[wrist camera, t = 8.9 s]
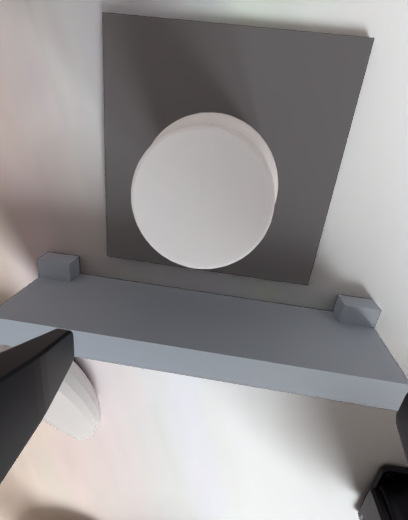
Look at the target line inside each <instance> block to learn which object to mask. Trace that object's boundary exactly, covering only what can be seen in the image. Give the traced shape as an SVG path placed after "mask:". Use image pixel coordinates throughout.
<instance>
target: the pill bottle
mask: <svg viewBox="0 0 408 520" xmlns="http://www.w3.org/2000/svg"><path fill="white" fill-rule="evenodd" d="M277 193H278V174H277V168H276V164H275V161H274V158H273V155H272V153H271V151H270V149H269V147H268V145H267V143H266V142H265V140H264V139H263V138H262V136H261V135H260V134H259V133H258V132H257V131H256V130H255V129H254V128H253V127H251V126H250V125H249V124H247V123H246V122H244V121H242V120H240V119H238V118H236V117H234V116H231V115H228V114H224V113H215V112H204V113H202V112H201V113H197V114H193V115H189V116H186V117H183V118H181V119H179V120H177V121H175V122H173V123H172V124H170V125H169V126H167V127H166V128H165V129H164V130H163V131H162V132H161V133H160V134H159V135H158V136H157V137H156V139H155V140H154V141H153V143H152V144H151V146H150V147H149V148H148V149H147V150H146V152H145V153H144V155H143V156H142V158H141V159H140V161H139V162H138V165H137V167H136V170H135V172H134V176H133V180H132V186H131V205H132V210H133V214H134V218H135V221H136V223H137V226H138V227H139V229H140V231H141V233H142V235H143V236H144V238H145V239H146V240H147V242H148V243H149V244H150V245H151V246H152V247H153V248H154V249H155V250H156V251H157V252H159V253H160V254H161V255H162V256H164V257H166V258H167V259H169V260H170V261H172V262H175V263H177V264H180V265H183V266H186V267H189V268H196V269H213V268H219V267H224V266H227V265H230V264H232V263H234V262H236V261H238V260H240V259H242V258H243V257H245V256H246V255H248V254H249V253H250V252H251V251H252V250H253V249H254V248H255V247H256V246H257V245H258V244H259V243H260V241H261V240H262V239H263V237H264V236H265V234H266V232H267V230H268V228H269V226H270V223H271V220H272V216H273V213H274V206H275V202H276V198H277Z"/></svg>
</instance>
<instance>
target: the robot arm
mask: <svg viewBox="0 0 408 520" xmlns="http://www.w3.org/2000/svg"><path fill="white" fill-rule="evenodd" d="M73 360H74V336H73V332H72V331H70V330H66V329H60V328H57V329H54V330H52V331H50V332H47V333H45V334H43V335H40V336H38V337H36V338H33V339H31V340H29V341H26V342H24V343H22V344H19V345H17V346H15V347H12V348H10V349H8V350H5V351H3V352H1V353H0V484H1V482H2V481H3V479H4V478H5V476H6V474H7V473H8V471H9V470H10V468H11V467H12V465H13V464H14V462H15V461H16V459H17V458H18V456H19V455H20V453H21V451H22V450H23V448H24V447H25V445H26V444H27V442H28V441H29V439H30V438H31V436H32V435H33V433H34V432H35V430H36V429H37V427H38V425H39V424H40V422H41V421H42V419H43V418H44V416H45V414H46V413H47V411H48V409H49V407H50V405H51V403H52V401H53V400H54V398H55V396H56V394H57V392H58V390H59V388H60V386H61V384H62V382H63V380H64V378H65V376H66V374H67V372H68V371H69V369H70V367H71V365H72V363H73ZM396 425H397V428H398V432H399V435H400V439H401V443H402V446H403V450H404V453H405V457H406V460H407V464H408V393H407V394H406V395H405V397H404V399H403V401H402V403H401V406H400V408H399V410H398V412H397V414H396ZM358 516H359V519H360V520H408V469H405V468H399V467H394V466H383V467H381V469H380V470H379V472H378V474H377V476H376V478H375V480H374V482H373V484H372V486H371V488H370V490H369V492H368V494H367V496H366V498H365V500H364V502H363V504H362V506H361V508H360V510H359V512H358Z"/></svg>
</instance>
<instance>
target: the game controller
mask: <svg viewBox="0 0 408 520" xmlns="http://www.w3.org/2000/svg"><path fill="white" fill-rule="evenodd" d="M12 347H14V346H8V345H2V344H0V353H1V352H3V351H5V350H8V349H10V348H12ZM100 416H101V410H100V403H99V400H98V397H97V394H96V392H95V390H94V388H93V386H92V384H91V382H90V381H89V379H88V378H87V376H86V375H85V374H84V372H83V371H82V370H81V369H80V368H79V366H78V365H77V364H76V363H75V362H74V361H73V363H72V365H71V367H70V369H69V371H68V372H67V374H66V376H65V378H64V380H63V382H62V384H61V386H60V388H59V390H58V392H57V394H56V396H55V398H54V400H53V401H52V403H51V405H50V407H49V409H48V411H47V413H46V414H45V416H44V418H43V420H44V421H46V422H47V423H48V424H50V425H51V426H53V427H54V428H56V429H58V430H60V431H62V432H63V433H65V434H67V435H69V436H71V437H73V438H75V439H77V440H81V439H84V438H87V437H90V436H93V434H94V432H95V430H96V429H97V427H98V425H99V422H100Z"/></svg>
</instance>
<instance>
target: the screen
mask: <svg viewBox="0 0 408 520" xmlns="http://www.w3.org/2000/svg"><path fill="white" fill-rule="evenodd" d="M37 265H38V274H39V278H37V279H36V280H34V281H33V282H32V283H30V284H29V285H28V286H26V287H25V288H24V289H22V290H21V291H19V292H18V293H17V294H15V295H14V296H13V297H11V298H10V299H8V300H7V301H6V302H4V303H3V304H2V305H0V344H2V345H8V346H14V347H15V346H17V345H19V344H22V343H24V342H26V341H29V340H31V339H33V338H36V337H38V336H40V335H43V334H45V333H47V332H50V331H52V330H54V329H57V328H60V329H66V330H70V331H72V332H73V336H74V357H80V358H86V359H91V360H97V361H103V362H109V363H115V364H121V365H127V366H133V367H139V368H145V369H151V370H157V371H163V372H169V373H175V374H181V375H187V376H193V377H199V378H205V379H210V380H216V381H222V382H228V383H234V384H240V385H246V386H252V387H258V388H264V389H270V390H276V391H282V392H288V393H294V394H300V395H306V396H312V397H318V398H324V399H330V400H335V401H341V402H347V403H353V404H359V405H365V406H371V407H377V408H383V409H389V410H395V411H398V410H399V408H400V406H401V403H402V401H403V399H404V397H405V395H406V394H407V393H408V379H407V378H406V376H405V375H404V373H403V371H402V370H401V368H400V367H399V365H398V364H397V362H396V361H395V359H394V358H393V356H392V355H391V353H390V352H389V350H388V349H387V347H386V345H385V344H384V342H383V341H382V339H381V338H380V336H379V335H378V333H377V332H376V330H375V329H374V328H375V325H376V323H377V320H378V318H379V315H380V313H381V309H380V308H379V307H378V305H377V304H376V303H375V302H374V300H372V299H365V298H359V297H352V296H345V295H338V298H337V301H336V304H335V307H334V311H333V312H332V311H325V310H319V309H312V308H305V307H299V306H292V305H285V304H279V303H272V302H265V301H259V300H252V299H245V298H239V297H232V296H225V295H219V294H212V293H206V292H199V291H192V290H186V289H179V288H172V287H166V286H159V285H152V284H146V283H139V282H132V281H126V280H119V279H112V278H106V277H99V276H92V275H86V274H80V267H79V256H72V255H66V254H59V253H52V252H47V253H46V254H44V255H43V256H41V257H40V258H38V259H37Z"/></svg>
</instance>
